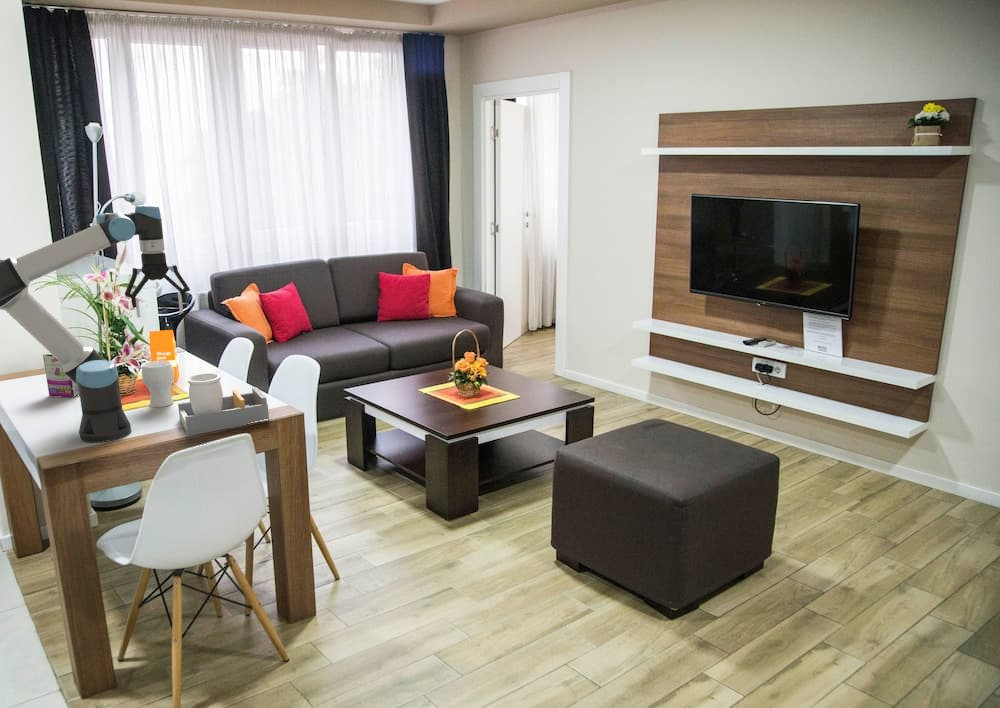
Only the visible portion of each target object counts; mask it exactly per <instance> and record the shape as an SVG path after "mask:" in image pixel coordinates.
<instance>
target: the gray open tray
mask: <svg viewBox="0 0 1000 708" xmlns="http://www.w3.org/2000/svg"><path fill="white" fill-rule="evenodd" d="M251 390H252V391H251V392H245V393H239V394H240V395H241V396H242V398H243V399H244V401H245V405H249V406H247V407H241V408H234V402H233V394H232V395H231V394H230V395H226V396H223V400H222V409H221V411H216V412H209V413H203V414H197V415H195V414H194V412H193V409H192V405H191V402H190V401H185V402H180V403H179V402H178V403H177V406H178V414H179V421H180V423H181V425H182V427H183V429H184V431H185V432H186V435H187V434H188V436H189V435H190V436H191V435H195V434H201V433H207V432H208V433H209V432H213V431H219V430H220V431H221V430H226V429H231V428H237V427H238V428H239V427H243V426H242V425H244V424H248V423H251V422H255V421H260V420H264V419H269V420H270V416H269V405H268V401H267V396H265V394H264V393H263V392H262V391H261V390H260V389H259V387H256V386H255V387H251ZM244 426H245V425H244Z"/></svg>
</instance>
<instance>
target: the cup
mask: <svg viewBox="0 0 1000 708" xmlns="http://www.w3.org/2000/svg"><path fill="white" fill-rule="evenodd" d="M141 376H142V381H143V383H144V384H145V386H146V388H148V391H149V395H150V399H149V402H150V403H149V406H150V407H151V408H164V407H168V406H171V405H173V404H174V400H173V397H172V393H171V391H172V385H173V382H174V381H173V379H174V369H173V366H172V364H171V362H170V361H154V362H151V361H149V362H146V363H144V364H143V365H142V367H141Z"/></svg>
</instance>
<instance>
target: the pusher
mask: <svg viewBox="0 0 1000 708" xmlns="http://www.w3.org/2000/svg"><path fill="white" fill-rule="evenodd" d="M231 391H232V392H231V393H232V395H233V402H234V408H241V407H247V406H249V405H245V401H244V399H243V398H242V396H241V395H240V394H241V393H239V391H238V390H237V389H232V390H231Z"/></svg>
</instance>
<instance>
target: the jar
mask: <svg viewBox="0 0 1000 708" xmlns="http://www.w3.org/2000/svg"><path fill="white" fill-rule="evenodd" d="M221 378H222V377H221V375H220V374H219V373H210V372H209V373H200V374H199V373H198V374H196V375H193V376H192V375H191V376H189V377H188V378H187V383H189V387H188V397H189V402H191V405H192V409H193V412H194V414H195V415H197V414H203V413H209V412H216V411H221V409H222V400H223V397H224V396H223V393H224V392H223V388H222V384H221Z"/></svg>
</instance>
